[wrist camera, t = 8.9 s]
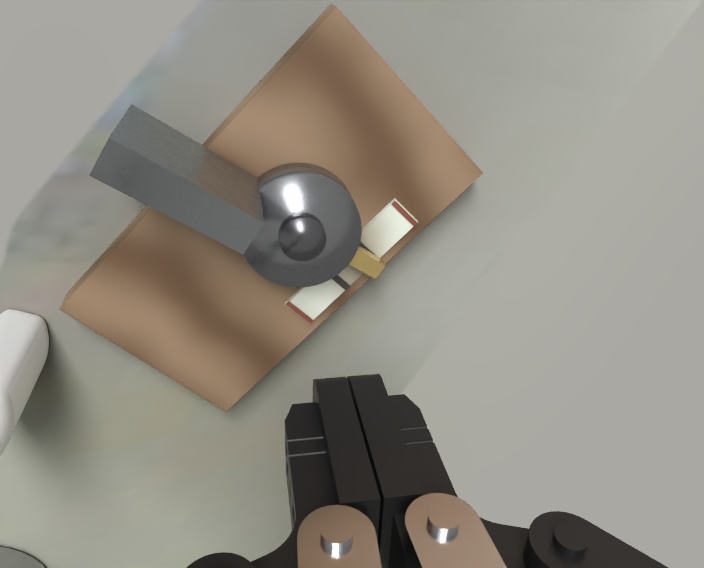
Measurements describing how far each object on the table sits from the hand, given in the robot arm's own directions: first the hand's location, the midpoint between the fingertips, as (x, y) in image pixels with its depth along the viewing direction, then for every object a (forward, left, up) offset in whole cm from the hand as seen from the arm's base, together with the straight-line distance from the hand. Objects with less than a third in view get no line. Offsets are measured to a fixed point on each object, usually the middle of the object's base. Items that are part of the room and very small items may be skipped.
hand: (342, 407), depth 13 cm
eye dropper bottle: (-20, +3, -23) cm, 30 cm away
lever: (-2, -1, -20) cm, 20 cm away
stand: (-4, -3, -23) cm, 23 cm away
